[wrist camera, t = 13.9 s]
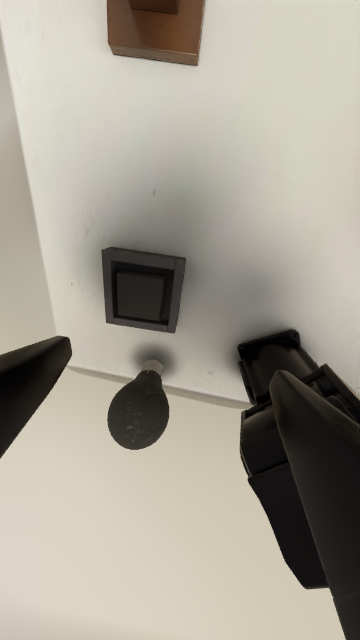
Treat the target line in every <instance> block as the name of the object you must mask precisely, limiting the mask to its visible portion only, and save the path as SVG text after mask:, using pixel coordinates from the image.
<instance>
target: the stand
mask: <svg viewBox="0 0 360 640" xmlns="http://www.w3.org/2000/svg"><path fill="white" fill-rule="evenodd" d="M204 6H205V0H107V24H108V44H109V46H110V48H111V50H112V53H113V54H118V55H125V56H133V57H140V58H147V59H154V60H162V61H169V62H176V63H184V64H191V65H198V58H199V49H200V40H201V32H202V23H203V14H204Z"/></svg>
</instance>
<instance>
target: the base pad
mask: <svg viewBox="0 0 360 640" xmlns="http://www.w3.org/2000/svg"><path fill="white" fill-rule="evenodd" d="M185 263H186V258H182V257H175V256H168V255H162V254H155V253H148V252H142V251H135V250H128V249H122V248H115V247H110V248H107V249H103V250H102V266H103V282H104V297H105V313H106V323H110V324H116V325H122V326H129V327H135V328H142V329H148V330H154V331H161V332H168V333H175V331H176V326H177V320H178V313H179V305H180V298H181V291H182V284H183V277H184V270H185ZM123 269H131V270H138V271H145V272H151V273H158V274H165V275H166V283H165V294H164V304H163V313H162V315H161V318H160V320H159V321H156V320H149V319H142V318H136V317H129V316H123V315H118V295H117V273H118V272H120V271H122V270H123Z"/></svg>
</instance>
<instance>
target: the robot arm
mask: <svg viewBox="0 0 360 640" xmlns="http://www.w3.org/2000/svg"><path fill="white" fill-rule="evenodd" d="M292 334H294V335H293V336H292ZM241 348H243V349H241ZM237 349H238V352H239V355H240V358H241V361H239V362H238V365H239V369H240V372H241V375H242V379H243V382H244V385H245V389H246V392H247V394H248V397H249V400H250V403H251V404H252V405H255V406H254V407H252V408H250V409H248V410H244V411H243V412H241V433H240V454H241V460H242V462H243V466H244V468H245V470H246V473H247V474H248V482H249V484H250V486H251V487H252V489H253V491H254V492H255V494H256V495H257V497H258V498H259V500H260V502H261V504H262V506H263V508H264V510H265V512H266V514H267V516H268V519H269V521H270V524H271V526H272V529H273V531H274V534H275V537H276V539H277V542H278V545H279V547H280V550H281V552H282V555H283V558H284V559H285V562H286V563H287V565H288V566H289V568H290V569H291V571H292V572H293V573H294V575H295V576H296V578H297V579H298V581H299V582H300V583H301V585H302V586H303V587H304V588H305V589H318V588H319V589H320V588H329V589H330V591H331V594H332V596H333V601H334V604H335V607H336V610H337V614H338V616H339V620H340V623H341V626H342V629H343V632H344V635H345V638H346V640H360V397H359V396H358V395H357V394H356V393H355V392H354V391H353V390H352V389H351V388H350V387H349V386H348V385H347V384H346V383H345V382H344V381H343V380H342V379H341V378H340V377H339V376H338V375H337V374H336V373H335V372H334V371H333V370H332V369H331V368H330V367H329V366H328V365H327V364H324V365H322V366H321V367H319V366H318V365H317V364H316V363H315V362H314V360H313V359H312V358H311V357H310V356H309V355H308V354H307V352H306V351H305V350H304V349H303V348H302V347H301V343H300V336H299V333H298V332H297V331H296V330H289V331H286V332H282V333H279V334H275V335H271V336H268V337H264V338H260V339H257V340H253V341H249V342H246V343H242V344H239V345H238V347H237ZM71 356H72V349H71V343H70V339H69V338H68V337H64V336H56V337H53V338H50V339H47V340H44V341H41V342H38V343H35V344H32V345H29V346H26V347H23V348H20V349H17V350H14V351H11V352H8V353H5V354H2V355H0V458H1V457H2V456H3V454H4V453H5V452H6V450H7V449H8V448H9V446H10V445H11V444H12V442H13V441H14V439H15V438H16V437H17V435H18V434H19V433H20V431H21V430H22V429H23V427H24V426H25V425H26V423H27V422H28V421H29V419H30V418H31V417H32V415H33V414H34V413H35V411H36V410H37V409H38V407H39V406H40V404H41V403H42V402H43V401H44V399H45V398H46V397H47V395H48V394H49V392H50V391H51V390H52V388H53V387H54V385H55V383H56V382H57V380H58V378H59V377H60V375H61V373H62V372H63V370H64V368H65V367H66V365H67V363H68V362H69V360H70V358H71Z"/></svg>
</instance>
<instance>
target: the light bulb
mask: <svg viewBox="0 0 360 640" xmlns="http://www.w3.org/2000/svg"><path fill="white" fill-rule="evenodd" d="M162 372H163V366H162V364H161V363H160V362H159V361H157V360H148V361H146V362H145V363H144V365H143V367H142V370H141V372H140V373H139V374H138V376H137V377H136V379H135V380H133V381H132V382H130V383H128V384H127V385H125V386H124V387H123V388H122V389H121V390H120V391H119V392H118V393H117V394H116V395H115V397H114V398H113V400H112V402H111V404H110V407H109V411H108V420H107V421H108V427H109V431H110V433H111V436H112V437H113V438H114V440H115V441H116V442H117V443H118V444H119V445H120V446H122V447H124V448H127V449H131V450H138V449H143V448H146V447H148V446H150V445H152V444H153V443H155V442H156V441H157V440H158V439H159V438H160V436H161V435H162V434H163V432H164V430H165V428H166V426H167V423H168V419H169V405H168V400H167V397H166V394H165V392H164V390H163V388H162V379H161V376H162Z"/></svg>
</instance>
